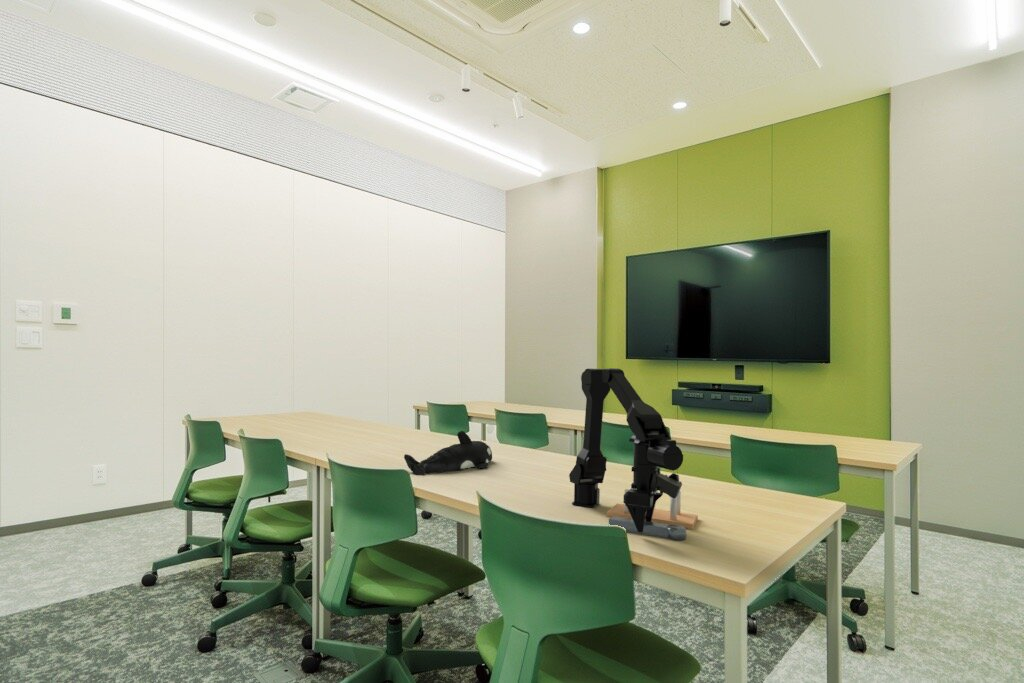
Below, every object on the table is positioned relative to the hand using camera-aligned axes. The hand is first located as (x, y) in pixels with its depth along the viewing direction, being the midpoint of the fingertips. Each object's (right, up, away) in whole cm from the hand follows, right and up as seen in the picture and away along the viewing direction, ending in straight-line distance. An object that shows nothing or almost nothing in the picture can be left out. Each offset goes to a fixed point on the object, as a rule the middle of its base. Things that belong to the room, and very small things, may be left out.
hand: (644, 527), depth 129 cm
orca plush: (-56, -4, +77) cm, 95 cm away
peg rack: (+5, -2, +13) cm, 14 cm away
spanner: (0, -1, 0) cm, 2 cm away
